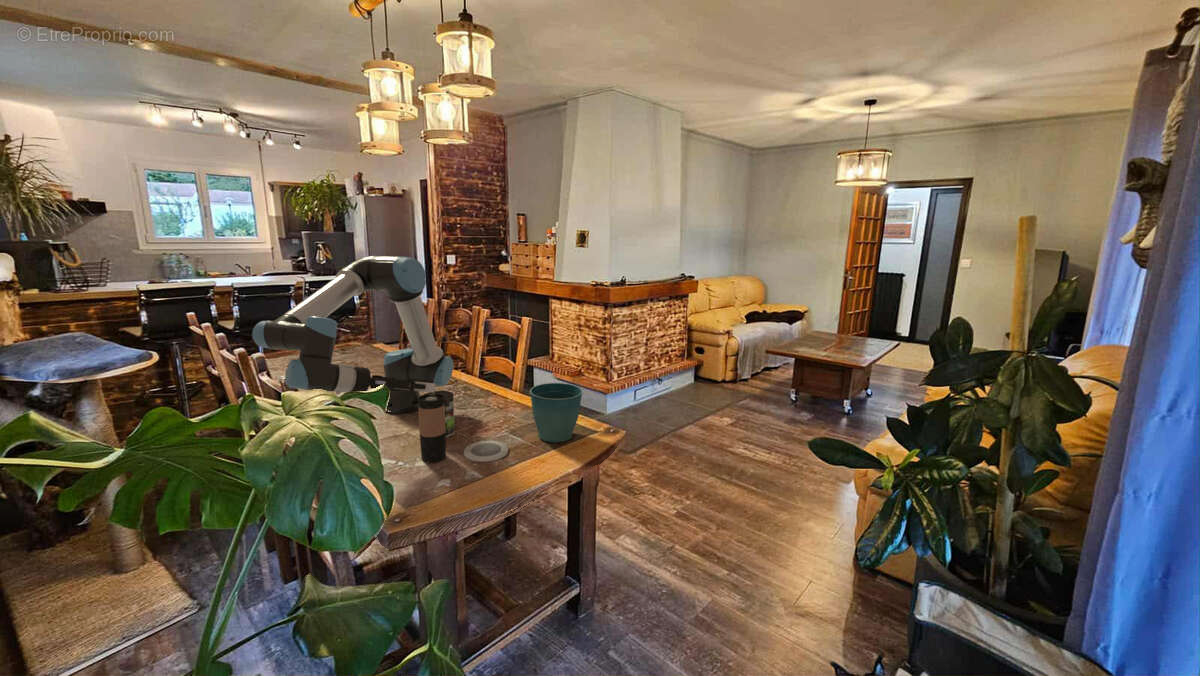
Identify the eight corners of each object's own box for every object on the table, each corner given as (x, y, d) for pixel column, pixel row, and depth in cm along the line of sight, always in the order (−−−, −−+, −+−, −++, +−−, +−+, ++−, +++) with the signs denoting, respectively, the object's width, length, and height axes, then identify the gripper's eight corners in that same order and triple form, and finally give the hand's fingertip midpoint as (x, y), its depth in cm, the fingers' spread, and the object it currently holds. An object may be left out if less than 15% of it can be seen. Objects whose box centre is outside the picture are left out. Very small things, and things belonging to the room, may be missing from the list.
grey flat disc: (461, 446, 157) (461, 443, 157) (503, 440, 163) (503, 438, 162) (466, 464, 145) (466, 462, 144) (512, 458, 150) (512, 455, 150)
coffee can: (460, 429, 171) (459, 391, 168) (445, 440, 161) (444, 401, 158) (434, 426, 173) (432, 389, 170) (418, 437, 163) (416, 398, 160)
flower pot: (553, 422, 180) (553, 379, 176) (591, 434, 170) (592, 389, 166) (519, 437, 165) (518, 391, 162) (558, 452, 155) (559, 403, 152)
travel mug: (431, 465, 143) (428, 403, 139) (415, 459, 147) (412, 398, 143) (451, 456, 150) (449, 396, 146) (435, 450, 154) (433, 391, 149)
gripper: (335, 391, 141) (406, 397, 155) (364, 395, 123) (441, 401, 138) (340, 366, 142) (409, 374, 156) (369, 366, 124) (445, 376, 139)
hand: (424, 387), depth 147 cm, fingers open, 13 cm apart
